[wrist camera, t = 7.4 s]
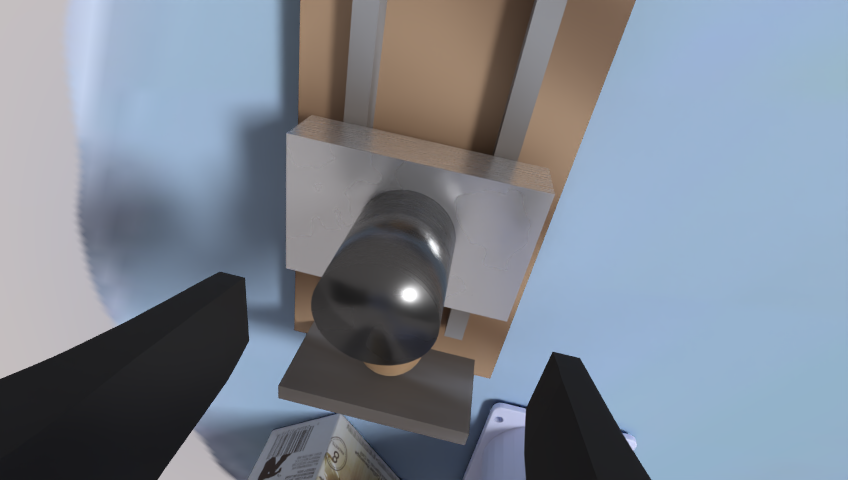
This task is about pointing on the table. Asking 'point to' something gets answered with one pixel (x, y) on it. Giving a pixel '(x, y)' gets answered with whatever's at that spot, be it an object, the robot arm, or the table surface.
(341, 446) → the coffee box
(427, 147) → the press carriage
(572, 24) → the nut press
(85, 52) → the table surface
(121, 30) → the table surface
